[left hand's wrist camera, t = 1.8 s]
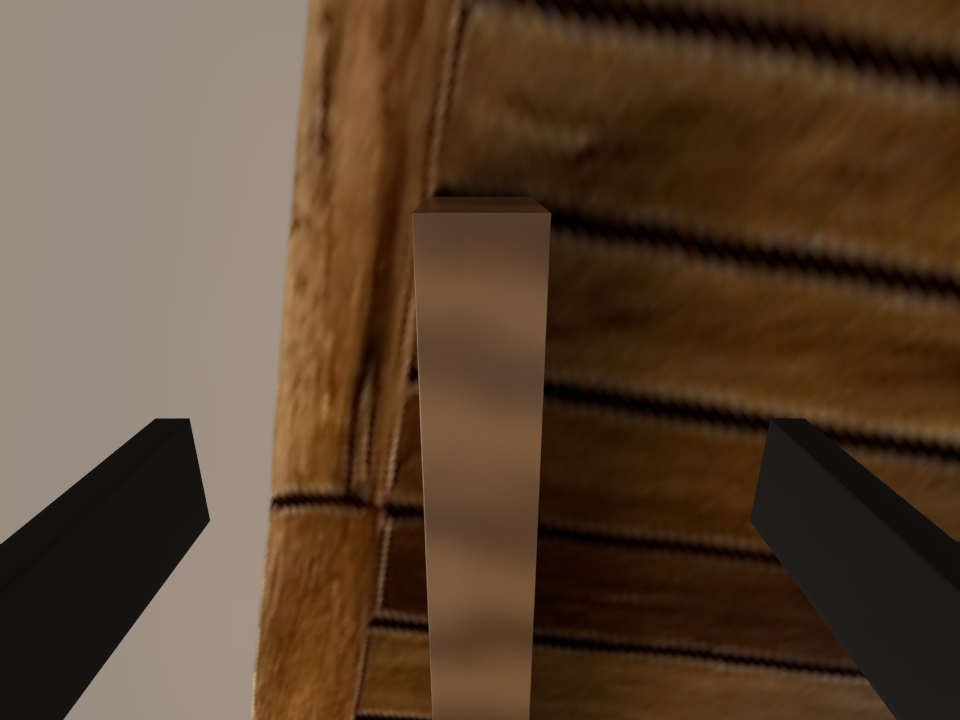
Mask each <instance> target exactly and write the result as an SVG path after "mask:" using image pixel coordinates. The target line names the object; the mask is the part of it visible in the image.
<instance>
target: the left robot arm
mask: <svg viewBox="0 0 960 720" xmlns="http://www.w3.org/2000/svg"><path fill="white" fill-rule="evenodd" d="M209 522H210V518H209V513H208V508H207V503H206V498H205V493H204V488H203V483H202V478H201V473H200V469H199V464H198V459H197V454H196V449H195V444H194V439H193V434H192V429H191V424H190V419H154V420H153V421H152V422H151V423H149V424H148V425H147V426H146V427H145V428H143V429H142V430H141V431H140V432H138V433H137V434H136V435H135V436H134V437H132V438H131V439H130V440H129V441H127V442H126V443H125V444H124V445H122V446H121V447H120V448H119V449H117V450H116V451H115V452H114V453H113V454H111V455H110V456H109V457H108V458H106V459H105V460H104V461H103V462H101V463H100V464H99V465H98V466H97V467H95V468H94V469H93V470H92V471H90V472H89V473H88V474H87V475H85V476H84V477H83V478H82V479H81V480H79V481H78V482H77V483H76V484H74V485H73V486H72V487H71V488H70V489H68V490H67V491H66V492H65V493H63V494H62V495H61V496H60V497H58V498H57V499H56V500H55V501H53V502H52V503H51V504H50V505H49V506H47V507H46V508H45V509H44V510H42V511H41V512H40V513H39V514H37V515H36V516H35V517H34V518H33V519H31V520H30V521H29V522H28V523H26V524H25V525H24V526H23V527H21V528H20V529H19V530H18V531H17V532H15V533H14V534H13V535H12V536H10V537H9V538H8V539H7V540H6V541H4V542H3V543H2V544H0V720H63V719H64V718H65V717H66V715H67V714H68V713H69V711H70V710H71V709H72V707H73V706H74V704H75V703H76V702H77V700H78V699H79V698H80V696H81V695H82V694H83V692H84V691H85V690H86V688H87V687H88V685H89V684H90V683H91V681H92V680H93V679H94V677H95V676H96V675H97V673H98V672H99V671H100V669H101V668H102V667H103V665H104V664H105V662H106V661H107V660H108V658H109V657H110V656H111V654H112V653H113V652H114V650H115V649H116V648H117V646H118V645H119V643H120V642H121V641H122V639H123V638H124V637H125V635H126V634H127V633H128V631H129V630H130V629H131V627H132V626H133V624H134V623H135V622H136V620H137V619H138V618H139V616H140V615H141V614H142V612H143V611H144V610H145V608H146V607H147V606H148V604H149V603H150V601H151V600H152V599H153V597H154V596H155V595H156V593H157V592H158V591H159V589H160V588H161V587H162V585H163V584H164V583H165V581H166V580H167V578H168V577H169V576H170V574H171V573H172V572H173V570H174V569H175V568H176V566H177V565H178V564H179V562H180V561H181V559H182V558H183V557H184V555H185V554H186V553H187V551H188V550H189V549H190V547H191V546H192V544H193V543H194V542H195V540H196V539H197V538H198V536H199V535H200V534H201V532H202V531H203V530H204V528H205V527H206V526H207V524H208V523H209ZM750 522H751V523H752V524H753V526H754V527H755V528H756V530H757V531H758V532H759V534H760V535H761V536H762V538H763V539H764V540H765V542H766V543H767V545H768V546H769V547H770V549H771V550H772V551H773V553H774V554H775V555H776V557H777V558H778V559H779V561H780V562H781V564H782V565H783V566H784V568H785V569H786V570H787V572H788V573H789V574H790V576H791V577H792V578H793V580H794V581H795V583H796V584H797V585H798V587H799V588H800V589H801V591H802V592H803V593H804V595H805V596H806V597H807V599H808V600H809V601H810V603H811V604H812V606H813V607H814V608H815V610H816V611H817V612H818V614H819V615H820V616H821V618H822V619H823V620H824V622H825V623H826V625H827V626H828V627H829V629H830V630H831V631H832V633H833V634H834V635H835V637H836V638H837V639H838V641H839V642H840V644H841V645H842V646H843V648H844V649H845V650H846V652H847V653H848V654H849V656H850V657H851V658H852V660H853V661H854V662H855V664H856V665H857V667H858V668H859V669H860V671H861V672H862V673H863V675H864V676H865V677H866V679H867V680H868V681H869V683H870V684H871V686H872V687H873V688H874V690H875V691H876V692H877V694H878V695H879V696H880V698H881V699H882V700H883V702H884V703H885V704H886V706H887V707H888V709H889V710H890V711H891V713H892V714H893V715H894V717H895V718H896V719H897V720H960V542H956V541H955V540H953V539H952V538H951V537H950V536H948V535H947V534H946V533H945V532H943V531H942V530H941V529H940V528H939V527H937V526H936V525H935V524H934V523H932V522H931V521H930V520H929V519H927V518H926V517H925V516H924V515H923V514H921V513H920V512H919V511H918V510H916V509H915V508H914V507H913V506H911V505H910V504H909V503H908V502H907V501H905V500H904V499H903V498H902V497H900V496H899V495H898V494H897V493H895V492H894V491H893V490H892V489H891V488H889V487H888V486H887V485H886V484H884V483H883V482H882V481H881V480H879V479H878V478H877V477H876V476H875V475H873V474H872V473H871V472H870V471H868V470H867V469H866V468H865V467H863V466H862V465H861V464H860V463H859V462H857V461H856V460H855V459H854V458H852V457H851V456H850V455H849V454H847V453H846V452H845V451H844V450H843V449H841V448H840V447H839V446H838V445H836V444H835V443H834V442H833V441H831V440H830V439H829V438H828V437H827V436H825V435H824V434H823V433H822V432H820V431H819V430H818V429H817V428H815V427H814V426H813V425H812V424H811V423H809V422H808V421H807V420H806V419H770V424H769V429H768V434H767V439H766V444H765V449H764V454H763V459H762V463H761V468H760V473H759V478H758V483H757V488H756V493H755V498H754V503H753V508H752V513H751V518H750Z"/></svg>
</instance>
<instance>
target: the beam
mask: <svg viewBox="0 0 960 720" xmlns="http://www.w3.org/2000/svg"><path fill="white" fill-rule="evenodd" d="M411 215H412V239H413V263H414V287H415V311H416V335H417V359H418V383H419V407H420V431H421V455H422V479H423V503H424V527H425V551H426V575H427V599H428V623H429V647H430V671H431V695H432V719H433V720H529V716H530V693H531V670H532V647H533V624H534V601H535V578H536V555H537V531H538V508H539V485H540V462H541V439H542V416H543V393H544V370H545V347H546V324H547V300H548V277H549V254H550V231H551V213H550V212H549V211H548V210H547V209H546V208H544V207H543V206H542V205H541V204H539V203H538V202H537V201H536V200H535V199H533V198H532V197H430V198H429V199H427V200H426V201H425V202H424V203H423V204H422V205H420V206H419V207H418V208H417V209H416V210H415V211H413V212H412V214H411Z"/></svg>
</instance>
